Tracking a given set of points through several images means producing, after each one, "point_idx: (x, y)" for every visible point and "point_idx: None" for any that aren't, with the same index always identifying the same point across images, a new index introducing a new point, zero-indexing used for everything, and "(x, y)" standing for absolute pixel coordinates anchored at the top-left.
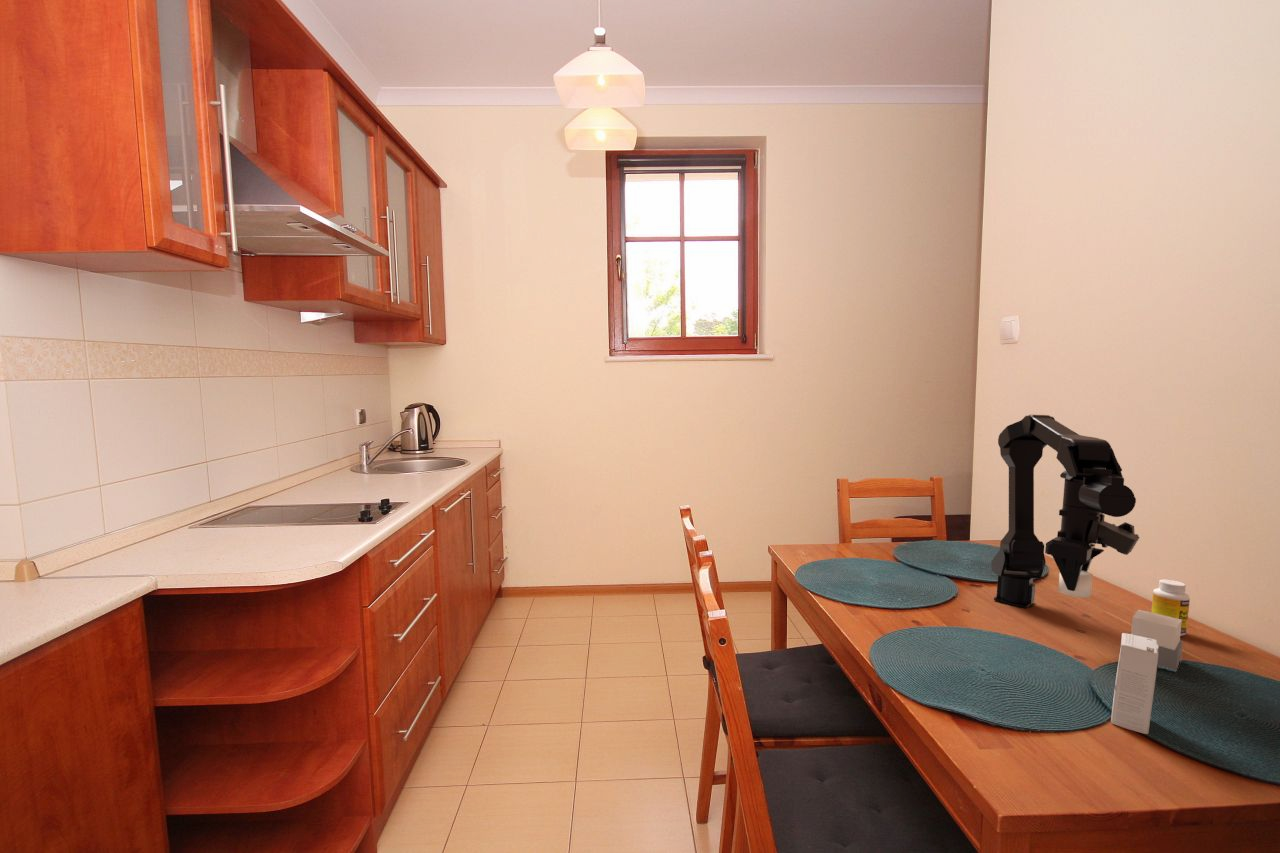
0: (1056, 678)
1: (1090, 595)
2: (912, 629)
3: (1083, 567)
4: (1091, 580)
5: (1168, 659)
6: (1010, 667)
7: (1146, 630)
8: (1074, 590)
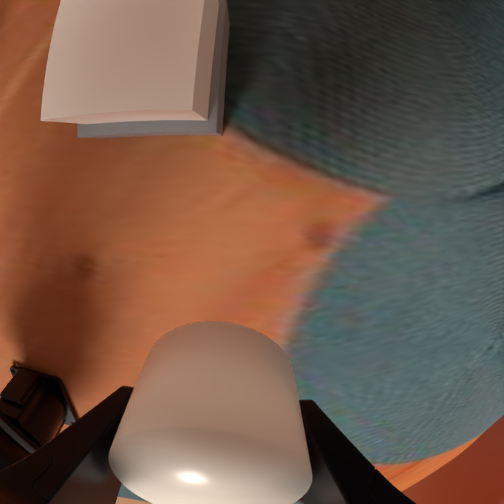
0: (476, 255)
1: (224, 326)
2: (379, 460)
3: (91, 472)
4: (219, 398)
5: (226, 28)
6: (468, 326)
7: (204, 64)
8: (312, 400)
